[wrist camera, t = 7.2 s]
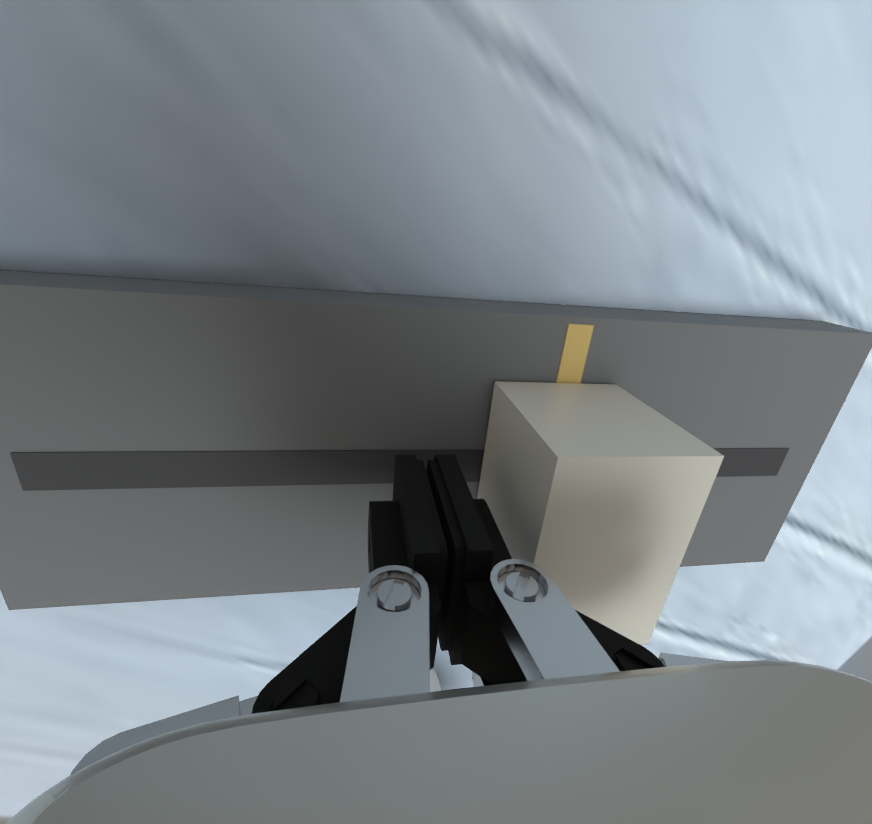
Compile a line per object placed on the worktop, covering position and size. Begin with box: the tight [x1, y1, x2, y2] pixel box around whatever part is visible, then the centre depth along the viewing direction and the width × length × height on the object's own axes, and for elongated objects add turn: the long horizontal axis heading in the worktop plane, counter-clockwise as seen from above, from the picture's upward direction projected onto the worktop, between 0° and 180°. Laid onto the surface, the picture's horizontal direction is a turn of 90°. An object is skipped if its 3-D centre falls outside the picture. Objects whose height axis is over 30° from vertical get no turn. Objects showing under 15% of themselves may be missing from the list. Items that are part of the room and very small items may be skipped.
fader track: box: [0, 270, 872, 610], centre depth 15 cm, size 28×10×2 cm, turn 85°
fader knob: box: [477, 381, 724, 645], centre depth 13 cm, size 4×6×4 cm, turn 175°
